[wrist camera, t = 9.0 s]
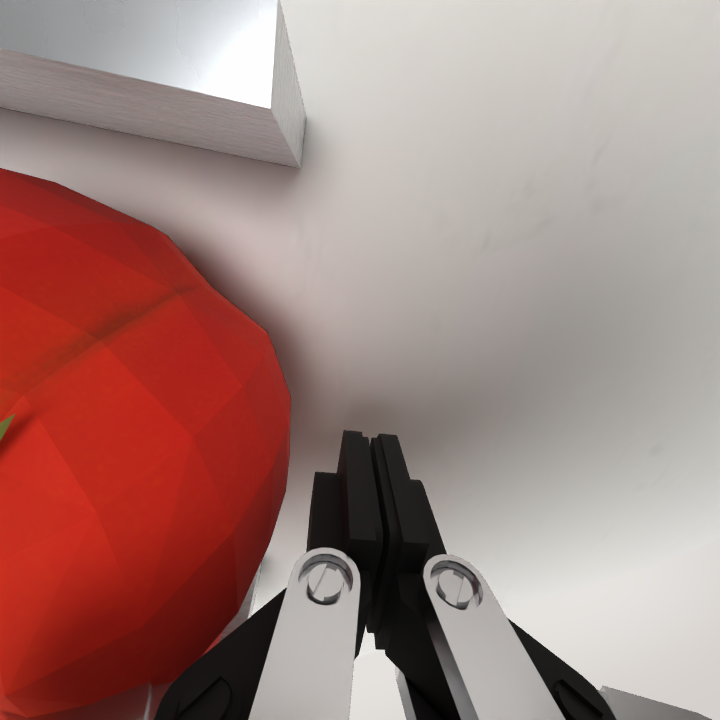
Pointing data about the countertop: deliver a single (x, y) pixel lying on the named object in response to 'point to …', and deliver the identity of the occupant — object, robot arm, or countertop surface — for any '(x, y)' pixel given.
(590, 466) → the countertop surface
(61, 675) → the tomato
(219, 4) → the grey u-shaped bracket
